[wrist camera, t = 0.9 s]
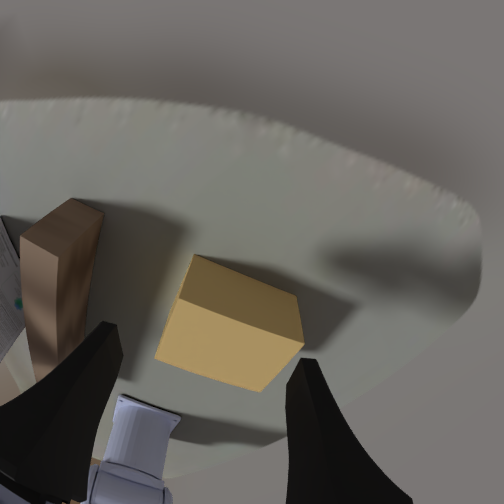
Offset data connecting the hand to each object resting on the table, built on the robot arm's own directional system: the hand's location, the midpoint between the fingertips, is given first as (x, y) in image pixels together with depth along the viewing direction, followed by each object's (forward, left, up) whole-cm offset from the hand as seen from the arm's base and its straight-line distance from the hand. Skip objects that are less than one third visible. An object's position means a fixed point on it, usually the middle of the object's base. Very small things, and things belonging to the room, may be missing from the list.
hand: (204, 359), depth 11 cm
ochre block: (-5, -2, -10) cm, 11 cm away
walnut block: (-12, +10, -10) cm, 18 cm away
